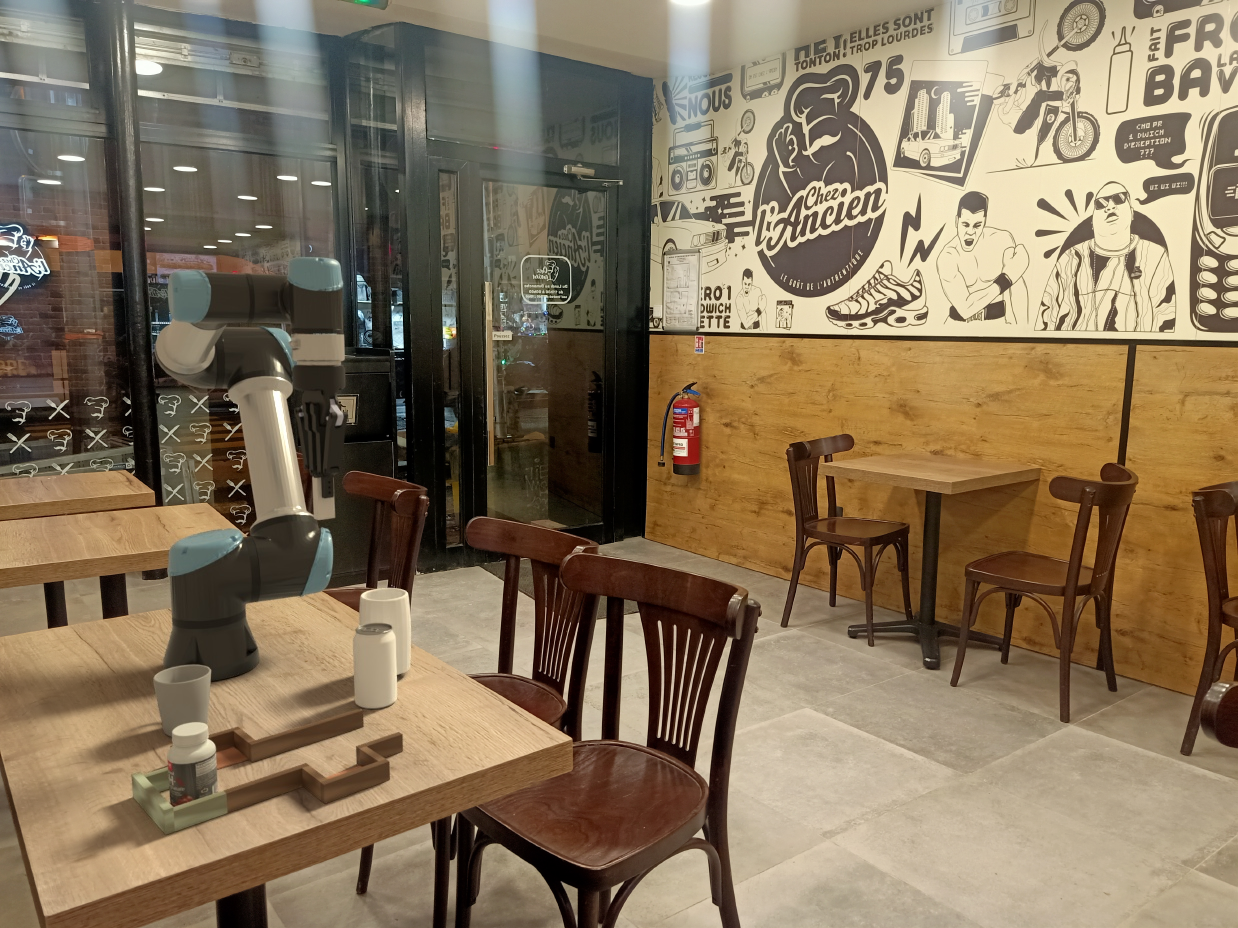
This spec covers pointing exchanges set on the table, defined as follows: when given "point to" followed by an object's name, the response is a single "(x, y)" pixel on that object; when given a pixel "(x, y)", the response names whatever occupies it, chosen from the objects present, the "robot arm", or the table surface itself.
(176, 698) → the cup
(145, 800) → the trap lane
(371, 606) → the cup
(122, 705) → the table surface
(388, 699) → the can
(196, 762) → the pill bottle
